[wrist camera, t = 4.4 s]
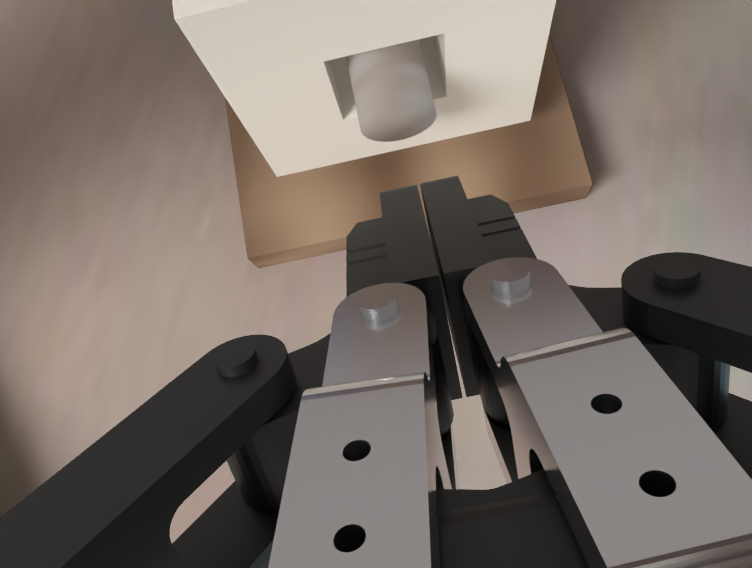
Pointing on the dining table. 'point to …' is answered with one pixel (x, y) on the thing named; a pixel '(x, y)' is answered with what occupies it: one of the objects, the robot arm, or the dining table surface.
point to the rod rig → (406, 160)
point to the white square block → (356, 35)
